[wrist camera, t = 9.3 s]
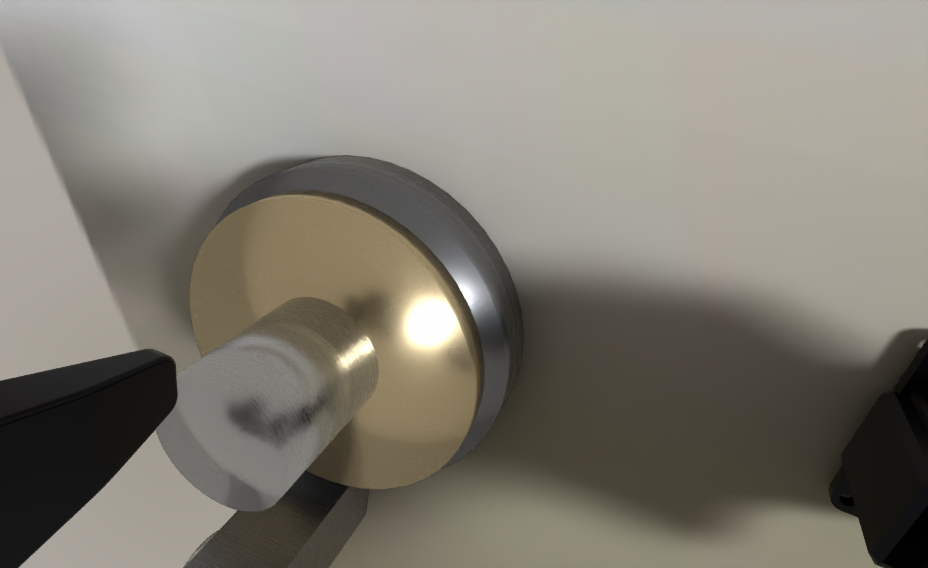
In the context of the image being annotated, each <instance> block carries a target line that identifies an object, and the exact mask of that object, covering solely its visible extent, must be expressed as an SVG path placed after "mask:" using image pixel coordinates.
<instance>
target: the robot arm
mask: <svg viewBox="0 0 928 568" xmlns="http://www.w3.org/2000/svg"><path fill="white" fill-rule="evenodd" d="M177 398H178V390H177V376H176V364H175V361H174V359H173V358H172V357H170V356H168V355H166V354H164V353H162V352H159V351H157V350H154V349H143V350H139V351H135V352H130V353H126V354H121V355H116V356H112V357H107V358H102V359H98V360H93V361H89V362H84V363H80V364H76V365H70V366H66V367H62V368H57V369H52V370H48V371H43V372H38V373H34V374H29V375H25V376H20V377H16V378H11V379H6V380H2V381H0V568H19V567H20V566H21V564H23V563H24V562H25V561H26V560H27V559H28V558H29V557H30V556H31V555H32V554H33V553H35V551H37V550H38V549H39V548H40V547H41V546H42V545H43V544H44V543H45V542H46V541H47V540H48V539H49V538H51V536H53V535H54V534H55V533H56V532H57V531H58V530H59V529H60V528H61V527H62V526H63V525H64V524H65V523H66V522H67V521H69V520H70V519H71V518H72V517H73V516H74V515H75V514H76V513H77V512H78V511H79V510H80V509H81V508H82V507H84V506H85V504H87V503H88V502H89V501H90V500H91V499H92V498H93V497H94V496H95V495H96V494H97V493H98V492H99V491H100V490H101V489H102V488H103V487H104V486H105V485H106V484H107V483H108V482H109V481H110V480H111V479H112V478H113V477H114V475H115V474H116V473H117V472H118V471H119V470H120V469H121V468H122V467H123V466H124V464H125V463H126V462H127V461H128V460H129V459H130V458H131V457H132V455H133V454H134V453H135V452H136V451H137V449H139V447H140V446H141V445H142V444H143V443H144V442H145V441H146V440H147V439H148V437H149V436H150V435H151V434H152V433H153V432H154V431H155V430H156V428H157V427H158V426H159V425H160V424H161V423H162V422H163V421H164V419H165V418H166V417H167V416H168V415H169V414H170V413H171V411H172V410H173V408H174V407H175V405H176V402H177ZM841 458H842V462H843V466H842V467H841V469H840V470H839V472H838V473H837V475H836V476H835V478H834V479H833V481H832V482H831V484H830V486H829V489H828V490H829V494H830V498H831V502H832V504H833V505H834V506H835V507H836V508H837V509H839V510H841V511H843V512H846V513H848V514H851V515H854V516H856V517H858V518H859V522H860V525H861V529H862V532H863V536H864V539H865V543H866V546H867V550H868V553H869V555H870V556H871V558H872V560H873V562H874V564H875V565H877V566H880V567H882V568H928V341H927V342H926V343H925V344H924V345H923V346H922V348H921V349H920V351H919V352H918V354H917V355H916V357H915V358H914V360H913V361H912V363H911V364H910V366H909V367H908V369H907V370H906V372H905V373H904V375H903V376H902V378H901V379H900V381H899V382H898V384H897V385H896V387H895V388H894V390H893V391H889V392H887V393H885V394H882V395H881V396H880V397H879V398H878V400H877V401H876V403H875V404H874V406H873V408H872V409H871V411H870V412H869V414H868V415H867V417H866V418H865V420H864V421H863V423H862V424H861V426H860V427H859V429H858V430H857V432H856V433H855V435H854V436H853V438H852V439H851V441H850V442H849V444H848V445H847V447H846V448H845V450H844V451H843V453H842V455H841ZM846 493H850V494H852V497H848V498H847V497H843V496H841V495H843V494H846Z"/></svg>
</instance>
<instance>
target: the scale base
mask: <svg viewBox="0 0 928 568" xmlns="http://www.w3.org/2000/svg"><path fill="white" fill-rule="evenodd" d="M300 190H314V191H323V192H331V193H335V194H339V195H342V196H346V197H350V198H353V199H355V200H358V201H360V202H363V203H365V204H368V205H370V206H372V207H374V208H376V209H378V210H379V211H381V212H383V213H385V214H387V215H388V216H390V217H392V218H393V219H395V220H396V221H397V222H399V223H400V224H402V225H403V226H404V227H406V228H407V229H409V230H410V231H411V232H412V233H413V234H414V235H415V236H417V237H418V238H419V239H420V240H421V241H422V242H423V243H424V244H425V245H427V246H428V247H429V249H430V250H431V251H432V252H433V253H434V254H435V255H436V256H437V258H438V259H439V260H440V261H441V262H442V263H443V264H444V266H445V267H446V269H447V270H448V271H449V273H450V274H451V276H452V277H453V278H454V280H455V281H456V283H457V284H458V286H459V288H460V290H461V292H462V293H463V295H464V297H465V299H466V301H467V302H468V305H469V307H470V309H471V312H472V314H473V317H474V319H475V322H476V324H477V328H478V332H479V335H480V339H481V343H482V348H483V356H484V363H485V382H484V390H483V396H482V402H481V405H480V407H479V410H478V413H477V416H476V419H475V420H474V422H473V424H472V426H471V428H470V430H469V431H468V433H467V435H466V437H465V438H464V440H463V442H462V443H461V445H460V447H459V449H458V450H457V451H456V453H455V454H454V455H453V456H452V458H451V459H450V460H449V461H448V462H447V463H446V464H445V465H444V466H443V467H441V468H440V469H442V468H445V467H448V466H450V465H452V464H453V463H455V462H457V461H458V460H460V459H462V458H464V457H465V456H466V455H467V454H468V453H469V452H471V451H472V450H473V449H474V448H475V447H476V446H477V445H478V444H479V443H480V442H481V440H482V439H483V438H484V437H485V436H486V434H487V433H488V431H489V430H490V428H491V426H492V424H493V422H494V421H495V419H496V417H497V415H498V413H499V412H500V410H501V408H502V406H503V404H504V402H505V400H506V398H507V397H508V395H509V393H510V391H511V389H512V387H513V385H514V382H515V379H516V377H517V374H518V371H519V367H520V361H521V356H522V349H523V326H522V316H521V309H520V305H519V301H518V297H517V293H516V289H515V286H514V284H513V281H512V279H511V276H510V273H509V271H508V268H507V267H506V265H505V263H504V261H503V259H502V257H501V255H500V253H499V251H498V250H497V248H496V246H495V245H494V244H493V242H492V241H491V239H490V238H489V236H488V235H487V233H486V232H485V231H484V229H483V228H482V227H481V226H480V224H479V223H478V222H477V221H476V220H475V219H474V218H473V217H472V215H471V214H470V213H469V212H468V211H467V210H466V209H465V208H464V207H463V206H462V205H460V204H459V203H458V202H457V201H456V200H455V199H454V198H453V197H452V196H450V195H449V194H448V193H446V192H445V191H444V190H442V189H441V188H439V187H438V186H436V185H435V184H434V183H432V182H431V181H429V180H427V179H425V178H423V177H422V176H420V175H418V174H416V173H414V172H412V171H410V170H408V169H405V168H403V167H400V166H398V165H395V164H392V163H390V162H386V161H382V160H377V159H373V158H369V157H359V156H333V157H325V158H321V159H316V160H312V161H309V162H306V163H303V164H301V165H298V166H295V167H292V168H290V169H287V170H284V171H282V172H279V173H276V174H274V175H271V176H269V177H267V178H264V179H262V180H260V181H257V182H256V183H254V184H253V185H251V186H250V187H248V188H247V189H245V190H244V191H242V192H241V193H240V194H239V195H238V196H237V197H236V198H235V199H234V200H233V201H232V202H231V203H230V204H229V206H228V207H227V208H226V210H225V211H224V213H223V214H222V215H221V217H220V219H219V221H218V223H217V224H219V223H220V222H221V221H222V220H223V219H224V218H225V217H227V216H228V215H230V214H231V213H233V212H235V211H236V210H238V209H240V208H242V207H245V206H247V205H249V204H252V203H254V202H257V201H259V200H262V199H264V198H267V197H269V196H272V195H274V194H279V193H284V192H288V191H300ZM440 469H439V470H440ZM368 494H369V489H366V488H358V487H352V486H347V485H343V484H339V483H336V482H333V481H329V480H327V479H324V478H322V477H319V476H317V475H314V474H312V473H310V472H308V471H306V470H305V471H304V472H303V474H302V475H301V476H300V477H299V478H298V479H297V480H296V481H295V483H294V484H293V485H292V486H291V487H290V488H289V489H288V490H287V492H286V493H285V494H284V495H283V496H282V497H281V498H280V499H279V500H278V502H277V503H276V504H275V505H273V506H272V507H270V508H268V509H266V510H262V511H256V512H248V511H241V510H238V511H237V512H236V513H235V514H234V515H233V516H232V517H231V518H230V519H229V520H228V521H227V523H226V524H225V525H224V526H223V527H222V528H221V529H220V530H218V531H216V532H215V533H213V534H212V535H211V536H209V537H208V538H207V539H206V540H205V541H204V542H203V543H202V544H201V545H200V546H199V547H198V548H197V549H196V551H195V552H194V553H193V554H192V556H191V557H190V558H189V560H188V561H187V563H186V564H185V566H184V567H183V568H329V567H330V565H331V564H332V562H333V561H334V560H335V558H336V557H337V555H338V554H339V552H340V551H341V549H342V548H343V547H344V545H345V544H346V542H347V541H348V539H349V538H350V536H351V535H352V534H353V532H354V531H355V529H356V528H357V526H358V525H359V523H360V522H361V521H362V519H363V518H364V516H365V515H366V508H367V501H368Z"/></svg>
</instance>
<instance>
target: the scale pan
mask: <svg viewBox="0 0 928 568" xmlns="http://www.w3.org/2000/svg"><path fill="white" fill-rule="evenodd" d="M297 297H313V298H318V299H322V300H325V301H327V302H330V303H332V304H334V305H336V306H337V307H339V308H341V309H342V310H344V311H345V312H346V313H348V314H349V315H350V316H351V317H352V318H353V319H354V320H355V321H356V322H357V323H358V324H359V325H360V326H361V327H362V329H363V330H364V331H365V333H366V334H367V336H368V338H369V339H370V341H371V343H372V345H373V347H374V350H375V353H376V356H377V360H378V367H379V378H378V383H377V386H376V389H375V391H374V393H373V395H372V396H371V397H370V398H369V400H368V401H367V402H366V403H365V404H364V405H363V406H362V407H361V409H360V410H359V411H358V412H357V413H356V414H355V415H354V416H353V417H352V419H351V420H350V421H349V422H348V423H347V424H346V425H345V426H344V428H343V429H342V430H341V431H340V432H339V433H338V434H337V435H336V437H335V438H334V439H333V440H332V441H331V442H330V443H329V444H328V446H327V447H326V448H325V449H324V450H323V451H322V452H321V453H320V455H319V456H318V457H317V458H316V459H315V460H314V461H313V462H312V463H311V465H310V466H309V467H308V468H307V469H306V471H308V472H310V473H312V474H314V475H317V476H319V477H322V478H324V479H327V480H329V481H333V482H336V483H339V484H343V485H347V486H352V487H358V488H366V489H389V488H397V487H402V486H407V485H410V484H413V483H416V482H418V481H421V480H423V479H425V478H427V477H428V476H430V475H432V474H434V473H435V472H437V471H438V470H439V469H440V468H441V467H443V466H444V465H445V464H446V463H447V462H448V461H449V460H450V459H451V458H452V456H453V455H454V454H455V453H456V451H457V450H458V449H459V447H460V445H461V443H462V442H463V440H464V438H465V437H466V435H467V433H468V431H469V430H470V428H471V426H472V424H473V422H474V420H475V419H476V416H477V413H478V410H479V407H480V405H481V402H482V396H483V390H484V382H485V363H484V356H483V348H482V343H481V339H480V335H479V332H478V328H477V324H476V322H475V319H474V317H473V314H472V312H471V309H470V307H469V305H468V302H467V301H466V299H465V297H464V295H463V293H462V292H461V290H460V288H459V286H458V284H457V283H456V281H455V280H454V278H453V277H452V276H451V274H450V273H449V271H448V270H447V269H446V267H445V266H444V264H443V263H442V262H441V261H440V260H439V259H438V258H437V256H436V255H435V254H434V253H433V252H432V251H431V250H430V249H429V247H428V246H427V245H425V244H424V243H423V242H422V241H421V240H420V239H419V238H418V237H417V236H415V235H414V234H413V233H412V232H411V231H410V230H409V229H407V228H406V227H404V226H403V225H402V224H400V223H399V222H397V221H396V220H395V219H393V218H392V217H390V216H388V215H387V214H385V213H383V212H381V211H379V210H378V209H376V208H374V207H372V206H370V205H368V204H365V203H363V202H360V201H358V200H355V199H353V198H350V197H346V196H342V195H339V194H335V193H331V192H323V191H314V190H300V191H288V192H284V193H279V194H274V195H272V196H269V197H267V198H264V199H262V200H259V201H257V202H254V203H252V204H249V205H247V206H245V207H242V208H240V209H238V210H236V211H235V212H233V213H231V214H230V215H228V216H227V217H225V218H224V219H223V220H222V221H221V222H220V223H219V224H217V225H216V226H215V227H214V228H213V229H212V231H211V232H210V233H209V235H208V236H207V237H206V239H205V240H204V242H203V244H202V246H201V248H200V250H199V252H198V254H197V256H196V259H195V263H194V266H193V269H192V274H191V281H190V313H191V322H192V326H193V330H194V335H195V339H196V342H197V345H198V348H199V351H200V354H201V356H202V358H203V357H204V356H206V355H207V354H209V353H210V352H212V351H213V350H215V349H216V348H217V347H219V346H220V345H222V344H223V343H225V342H226V341H228V340H229V339H231V338H232V337H234V336H235V335H237V334H238V333H240V332H241V331H243V330H244V329H246V328H247V327H249V326H250V325H252V324H253V323H254V322H256V321H257V320H259V319H260V318H262V317H263V316H265V315H266V314H268V313H269V312H271V311H272V310H274V309H275V308H277V307H278V306H280V305H281V304H283V303H284V302H286V301H288V300H290V299H293V298H297Z"/></svg>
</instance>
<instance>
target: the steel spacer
mask: <svg viewBox="0 0 928 568" xmlns="http://www.w3.org/2000/svg"><path fill="white" fill-rule="evenodd" d="M176 376H177V390H178V398H177V402H176V405H175V407H174V408H173V410H172V411H171V413H170V414H169V415H168V416H167V417H166V418H165V419H164V421H163V422H162V423H161V424H160V425H159V426H158V427H157V428H156V432H157V435H158V438H159V440H160V442H161V444H162V446H163V448H164V450H165V452H166V454H167V455H168V457H169V458H170V460H171V461H172V463H173V464H174V465H175V467H176V468H177V469H178V470H179V472H180V473H181V474H182V475H183V476H184V477H185V478H186V479H187V480H188V481H189V482H190V483H191V484H192V485H193V486H195V487H196V488H197V489H198V490H200V491H201V492H202V493H203V494H205V495H206V496H208V497H210V498H211V499H213V500H215V501H216V502H218V503H220V504H222V505H225V506H227V507H230V508H233V509H236V510H241V511H248V512H256V511H262V510H266V509H268V508H270V507H272V506H273V505H275V504H276V503H277V502H278V500H279V499H280V498H281V497H282V496H283V495H284V494H285V493H286V492H287V490H288V489H289V488H290V487H291V486H292V485H293V484H294V483H295V481H296V480H297V479H298V478H299V477H300V476H301V475H302V474H303V472H304V471H305V470H306V469H307V468H308V467H309V466H310V465H311V463H312V462H313V461H314V460H315V459H316V458H317V457H318V456H319V455H320V453H321V452H322V451H323V450H324V449H325V448H326V447H327V446H328V444H329V443H330V442H331V441H332V440H333V439H334V438H335V437H336V435H337V434H338V433H339V432H340V431H341V430H342V429H343V428H344V426H345V425H346V424H347V423H348V422H349V421H350V420H351V419H352V417H353V416H354V415H355V414H356V413H357V412H358V411H359V410H360V409H361V407H362V406H363V405H364V404H365V403H366V402H367V401H368V400H369V398H370V397H371V396H372V395H373V393H374V391H375V389H376V386H377V383H378V378H379V367H378V360H377V356H376V353H375V350H374V347H373V345H372V343H371V341H370V339H369V338H368V336H367V334H366V333H365V331H364V330H363V329H362V327H361V326H360V325H359V324H358V323H357V322H356V321H355V320H354V319H353V318H352V317H351V316H350V315H349V314H348V313H346V312H345V311H344V310H342V309H341V308H339V307H337V306H336V305H334V304H332V303H330V302H327V301H325V300H322V299H318V298H313V297H297V298H293V299H290V300H288V301H286V302H284V303H283V304H281V305H280V306H278V307H277V308H275V309H274V310H272V311H271V312H269V313H268V314H266V315H265V316H263V317H262V318H260V319H259V320H257V321H256V322H254V323H253V324H252V325H250V326H249V327H247V328H246V329H244V330H243V331H241V332H240V333H238V334H237V335H235V336H234V337H232V338H231V339H229V340H228V341H226V342H225V343H223V344H222V345H220V346H219V347H217V348H216V349H215V350H213V351H212V352H210V353H209V354H207V355H206V356H204V357H203V358H201V359H200V360H198V361H197V362H195V363H194V364H192V365H191V366H189V367H188V368H186V369H185V370H183V371H182V372H180V373H179V374H178V375H176Z"/></svg>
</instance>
